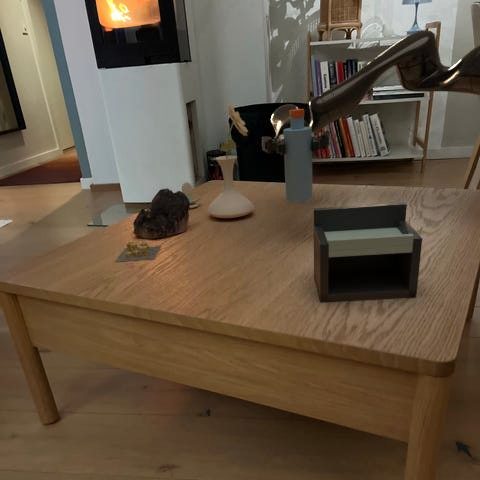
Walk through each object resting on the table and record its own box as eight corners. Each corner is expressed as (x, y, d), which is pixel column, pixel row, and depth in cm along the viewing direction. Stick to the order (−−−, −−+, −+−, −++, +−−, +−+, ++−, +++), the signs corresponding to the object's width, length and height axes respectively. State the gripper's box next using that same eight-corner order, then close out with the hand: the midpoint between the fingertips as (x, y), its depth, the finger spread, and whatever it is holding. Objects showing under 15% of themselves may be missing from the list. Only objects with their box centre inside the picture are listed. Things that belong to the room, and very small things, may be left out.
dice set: (128, 250, 100) (126, 241, 99) (152, 248, 99) (150, 239, 98) (122, 258, 95) (120, 249, 94) (147, 257, 95) (145, 248, 94)
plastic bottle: (311, 195, 95) (310, 107, 88) (313, 201, 91) (312, 109, 83) (285, 197, 96) (282, 109, 88) (286, 203, 91) (283, 112, 84)
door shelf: (320, 302, 71) (320, 227, 65) (313, 276, 79) (313, 208, 74) (416, 297, 70) (424, 220, 64) (399, 271, 78) (404, 202, 73)
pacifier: (196, 210, 125) (204, 203, 130) (193, 186, 122) (201, 180, 127) (171, 210, 127) (179, 203, 132) (167, 186, 124) (176, 181, 129)
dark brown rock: (122, 242, 107) (115, 199, 101) (147, 220, 118) (141, 180, 112) (178, 247, 104) (173, 203, 98) (198, 224, 115) (195, 183, 109)
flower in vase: (238, 224, 110) (229, 106, 99) (199, 220, 116) (185, 108, 104) (266, 209, 120) (260, 100, 108) (228, 206, 125) (219, 103, 114)
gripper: (259, 120, 100) (258, 129, 85) (327, 114, 99) (339, 122, 84) (261, 157, 104) (260, 172, 89) (327, 151, 103) (338, 166, 88)
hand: (298, 147), depth 86 cm, fingers closed on plastic bottle, 5 cm apart
